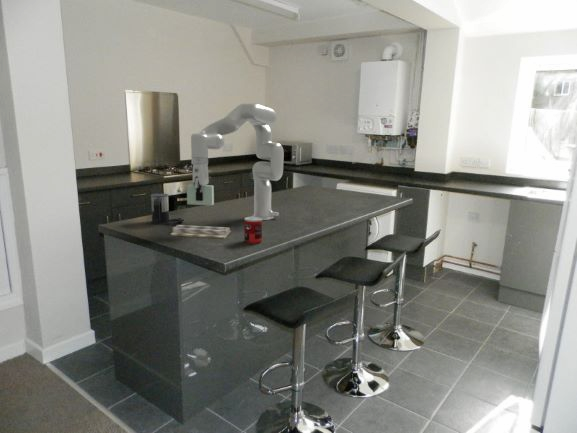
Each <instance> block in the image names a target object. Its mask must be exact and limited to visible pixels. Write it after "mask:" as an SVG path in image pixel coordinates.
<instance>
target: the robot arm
mask: <svg viewBox="0 0 577 433" xmlns="http://www.w3.org/2000/svg"><path fill="white" fill-rule="evenodd" d="M277 118H278V117H277V113H276V111H275V110H274V109H272V108H270V107H267V106H265V105H261V104H258V103H240V104H238V105H237V106H236V107H235V108H234V109H233V110H231V111H230V112H229V113H227V115H226V116H224V117H223V118H220V119H218V120H217V121H214V122H212V123H211V124H209V125H207V126H206V127H204V128H203V129H202V130H201V131H199V132H198V133H193V134H191V135H190V148H191V150H190V151H191V156H190V157H191V158H190V159H191V165H192V184H193V185H194V186H195V189H196V201H203V192H202V186H205V185H209V182H210V181H209V166H208V165H209V150H220V149H222V148H223V146H224V145H225V138H224V137H223V136H226V135H230V134H233V133H235V132H237V131H239V129H240V128H241V127H242V126H243V125H244V124H245V123H246V122H249V123H250V124H251V126H252V127H253V128H254V131H255V137H256V138H255V155H256V157H257V158H258V159H261V160H268V161H257V162H255V163H254V164H253V166H252V176H253V185H254V187H253V189H254V190H253V191H254V192H253V193H254V194H253V198H254V199H253V200H254V201H253V214H252V215H251V216H250V217H260V218H262V221H269V220H273V219H274V218H275V217H274V216H276V217H277V216H278V217H279V215H280V213H279V211H273V209H272V183H271V181H275V182H277V181H279V180H281V178H282V177H283V175H284V159H285V158H284V157H285V156H284V154H285V153H284V152H285V151H284V148H283V147H284V146H283V145H282V144H281V143H279V142H276V141H275V142H274V141H273V133H272V129H271V127H270V126H273V125H274V124H276V122H277ZM199 185H201V186H199Z"/></svg>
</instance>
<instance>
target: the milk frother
mask: <svg viewBox="0 0 577 433" xmlns="http://www.w3.org/2000/svg"><path fill="white" fill-rule="evenodd" d="M150 197H151V198H150V199H151V223H152V224H155V225H164V224H169V223H178V224H182V223H183V222H184V221H185V219H184V218H182V217H180V218H179V217H177V218H171V219H170V210H169V206H170V205H169V194H168V193H152V194H150Z"/></svg>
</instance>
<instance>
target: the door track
mask: <svg viewBox="0 0 577 433" xmlns="http://www.w3.org/2000/svg"><path fill="white" fill-rule="evenodd" d="M231 232H232V230H231V229H230V227H224V226H205V225H187V224H186V225H185V224H176V226H173V227H172V232H171V233H170V236H174V237H177V236H178V237H193V238H194V237H195V238H208V239H209V238H210V239H226V238H227V237H228V235H229V234H231Z"/></svg>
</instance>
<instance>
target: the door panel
mask: <svg viewBox="0 0 577 433" xmlns="http://www.w3.org/2000/svg"><path fill="white" fill-rule="evenodd" d="M198 185H199V184H198ZM199 186H201V185H199ZM214 186H215V185H213V184H211V185H209V184H207V185H205V186H202V192H203V201H196V189H195V186H194V185H193V183H192V184H191V183H190V184H187V185H186V204H187V205H194V206H195V205H196V206H197V205H198V206H213V205H215V193H214V192H215V190H214V188H215V187H214Z"/></svg>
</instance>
